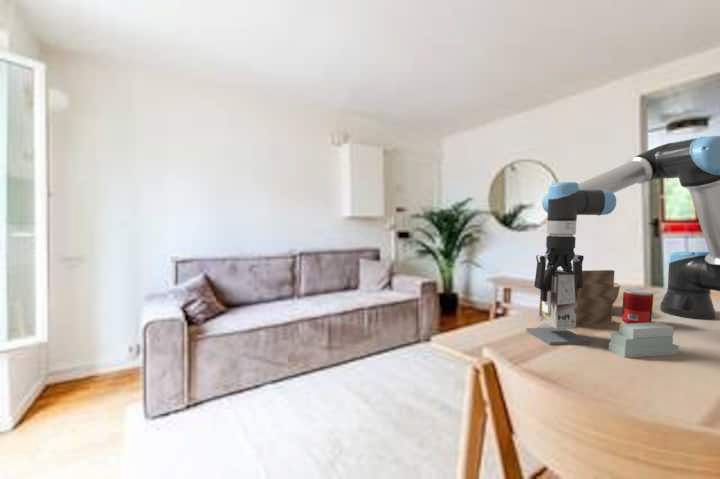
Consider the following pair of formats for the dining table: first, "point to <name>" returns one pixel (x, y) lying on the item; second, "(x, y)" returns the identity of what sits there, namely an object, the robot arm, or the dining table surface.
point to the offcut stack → (643, 340)
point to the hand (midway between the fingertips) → (557, 311)
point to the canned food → (637, 306)
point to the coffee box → (561, 301)
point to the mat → (557, 336)
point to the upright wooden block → (595, 297)
